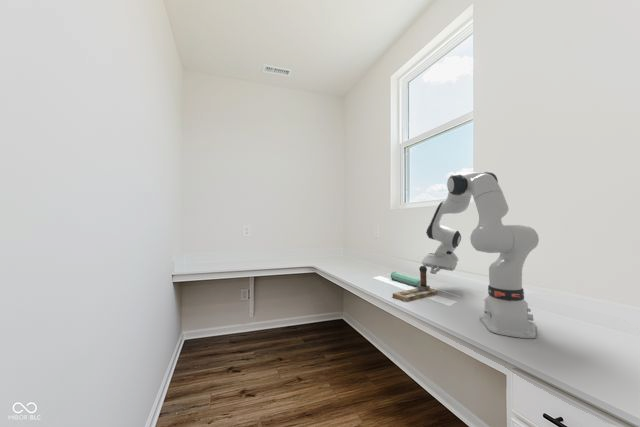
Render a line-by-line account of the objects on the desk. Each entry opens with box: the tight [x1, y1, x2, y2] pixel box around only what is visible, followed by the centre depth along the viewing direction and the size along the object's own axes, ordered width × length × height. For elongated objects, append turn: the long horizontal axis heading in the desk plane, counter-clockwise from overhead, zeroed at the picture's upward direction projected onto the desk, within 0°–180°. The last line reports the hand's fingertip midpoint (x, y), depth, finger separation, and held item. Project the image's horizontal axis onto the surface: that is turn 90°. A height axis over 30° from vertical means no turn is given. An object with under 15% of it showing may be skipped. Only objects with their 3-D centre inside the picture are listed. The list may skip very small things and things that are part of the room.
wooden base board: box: [392, 288, 438, 303], centre depth 153 cm, size 24×10×2 cm, turn 121°
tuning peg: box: [417, 265, 433, 291], centre depth 155 cm, size 5×7×13 cm
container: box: [390, 271, 421, 287], centre depth 183 cm, size 6×6×25 cm
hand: (432, 273), depth 161 cm, fingers closed
